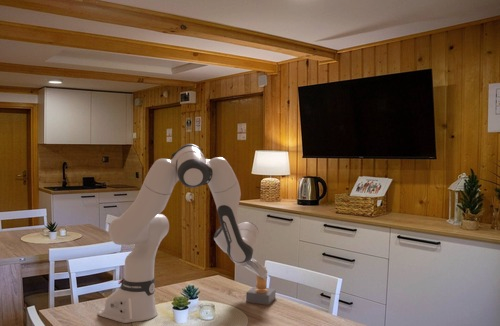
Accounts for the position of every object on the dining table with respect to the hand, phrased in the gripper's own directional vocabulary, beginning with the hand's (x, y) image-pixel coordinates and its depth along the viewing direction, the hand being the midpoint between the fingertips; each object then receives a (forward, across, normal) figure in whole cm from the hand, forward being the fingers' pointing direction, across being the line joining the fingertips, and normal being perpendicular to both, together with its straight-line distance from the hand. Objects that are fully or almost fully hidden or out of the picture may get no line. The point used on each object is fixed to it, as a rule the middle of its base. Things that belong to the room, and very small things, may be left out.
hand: (262, 276), depth 193 cm
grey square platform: (+7, 0, +8) cm, 10 cm away
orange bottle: (+3, 0, +4) cm, 5 cm away
